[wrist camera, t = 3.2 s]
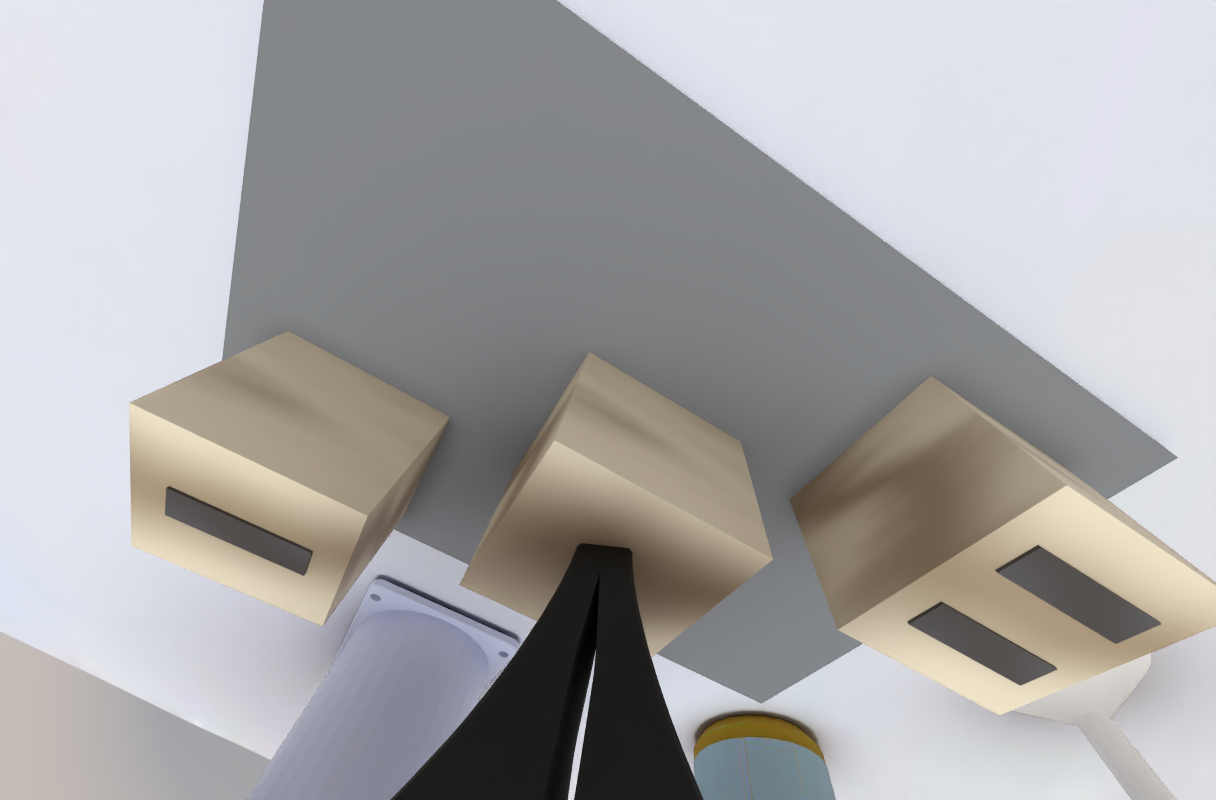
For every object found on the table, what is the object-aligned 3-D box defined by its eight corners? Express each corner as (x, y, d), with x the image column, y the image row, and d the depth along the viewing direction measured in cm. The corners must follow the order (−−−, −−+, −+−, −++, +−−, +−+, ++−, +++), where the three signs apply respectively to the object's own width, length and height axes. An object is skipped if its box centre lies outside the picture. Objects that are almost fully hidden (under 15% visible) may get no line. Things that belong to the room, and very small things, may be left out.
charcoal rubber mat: (759, 694, 22) (761, 703, 22) (221, 437, 18) (212, 443, 18) (1164, 449, 14) (1177, 457, 13) (301, -184, 9) (286, -198, 9)
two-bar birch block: (912, 570, 17) (1001, 718, 12) (789, 499, 16) (838, 632, 11) (1067, 469, 14) (1256, 614, 9) (930, 375, 13) (1070, 487, 8)
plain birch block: (644, 542, 18) (638, 667, 13) (513, 473, 17) (459, 585, 12) (740, 441, 15) (773, 559, 10) (589, 351, 14) (554, 440, 9)
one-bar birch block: (402, 516, 18) (320, 628, 14) (264, 449, 17) (128, 547, 13) (450, 416, 16) (366, 518, 11) (288, 330, 15) (125, 404, 10)
